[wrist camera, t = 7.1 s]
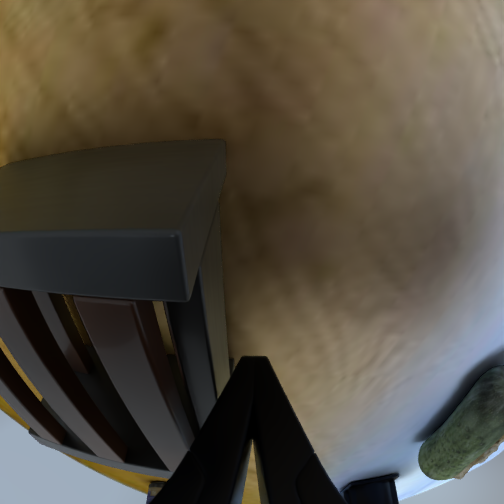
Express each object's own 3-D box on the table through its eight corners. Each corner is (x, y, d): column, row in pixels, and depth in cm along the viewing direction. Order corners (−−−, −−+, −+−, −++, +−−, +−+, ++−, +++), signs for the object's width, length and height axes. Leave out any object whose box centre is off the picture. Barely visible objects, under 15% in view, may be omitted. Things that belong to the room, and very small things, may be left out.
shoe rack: (225, 138, 9) (180, 231, 4) (235, 372, 15) (228, 484, 10) (6, 163, 9) (-101, 238, 4) (77, 355, 15) (39, 443, 10)
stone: (541, 421, 19) (527, 393, 23) (535, 437, 16) (518, 405, 20) (464, 474, 26) (452, 448, 30) (443, 493, 23) (431, 464, 26)
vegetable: (462, 472, 18) (422, 496, 17) (441, 434, 22) (402, 454, 21) (553, 385, 11) (517, 420, 10) (514, 338, 15) (474, 360, 14)
